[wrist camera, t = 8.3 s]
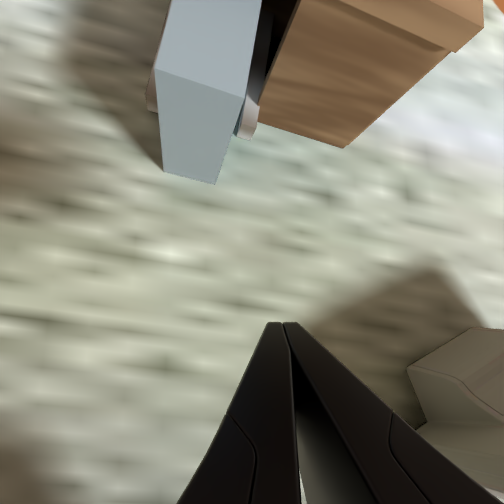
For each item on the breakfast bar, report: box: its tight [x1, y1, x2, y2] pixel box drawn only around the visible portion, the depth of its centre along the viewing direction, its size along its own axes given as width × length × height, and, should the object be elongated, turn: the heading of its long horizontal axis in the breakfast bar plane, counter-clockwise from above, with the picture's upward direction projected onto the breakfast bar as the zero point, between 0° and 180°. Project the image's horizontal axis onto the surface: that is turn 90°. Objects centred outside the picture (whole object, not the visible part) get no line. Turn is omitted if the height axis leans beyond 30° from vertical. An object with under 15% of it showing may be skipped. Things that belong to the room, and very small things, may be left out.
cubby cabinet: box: [145, 0, 484, 148], centre depth 19 cm, size 14×18×12 cm
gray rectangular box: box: [154, 0, 262, 185], centre depth 19 cm, size 16×5×10 cm, turn 172°
